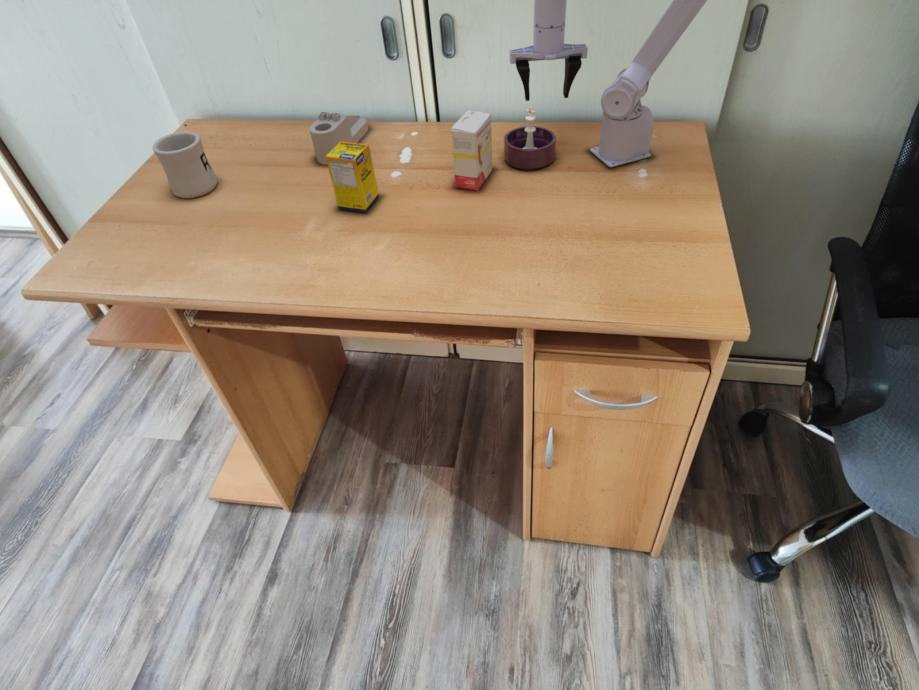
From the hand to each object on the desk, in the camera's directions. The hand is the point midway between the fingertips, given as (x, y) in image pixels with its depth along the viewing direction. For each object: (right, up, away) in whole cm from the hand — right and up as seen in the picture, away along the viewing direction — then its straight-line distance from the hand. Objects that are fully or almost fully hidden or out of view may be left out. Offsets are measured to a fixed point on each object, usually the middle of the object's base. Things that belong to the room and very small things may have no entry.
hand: (546, 97), depth 117 cm
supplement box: (-37, -23, -5) cm, 43 cm away
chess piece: (-3, -11, +2) cm, 12 cm away
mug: (-72, -17, +4) cm, 74 cm away
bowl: (-3, -12, +2) cm, 12 cm away
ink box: (-15, -17, -2) cm, 22 cm away
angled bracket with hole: (-43, -5, +12) cm, 45 cm away
